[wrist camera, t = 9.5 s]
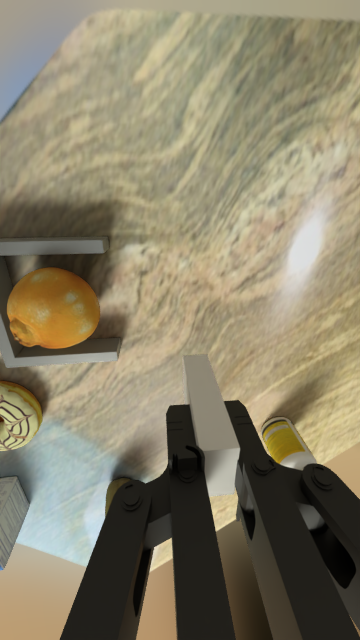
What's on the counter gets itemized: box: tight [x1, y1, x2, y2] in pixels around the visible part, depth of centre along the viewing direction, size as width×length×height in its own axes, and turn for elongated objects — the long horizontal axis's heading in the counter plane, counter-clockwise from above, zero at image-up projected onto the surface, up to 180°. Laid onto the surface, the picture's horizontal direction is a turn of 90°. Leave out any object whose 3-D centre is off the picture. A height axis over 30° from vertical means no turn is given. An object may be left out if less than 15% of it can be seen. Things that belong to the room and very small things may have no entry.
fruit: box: [7, 267, 100, 349], centre depth 25 cm, size 8×8×8 cm
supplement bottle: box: [261, 417, 317, 470], centre depth 37 cm, size 5×5×10 cm
